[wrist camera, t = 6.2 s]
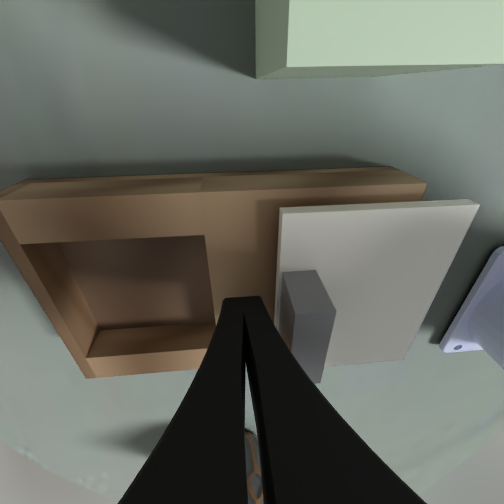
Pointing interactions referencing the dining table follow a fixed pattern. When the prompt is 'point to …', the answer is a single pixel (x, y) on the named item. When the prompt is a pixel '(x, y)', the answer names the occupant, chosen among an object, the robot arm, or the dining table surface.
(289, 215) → the cover
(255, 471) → the vase
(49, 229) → the wooden tray
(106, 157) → the dining table surface
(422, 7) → the block
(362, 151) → the dining table surface
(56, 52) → the dining table surface
